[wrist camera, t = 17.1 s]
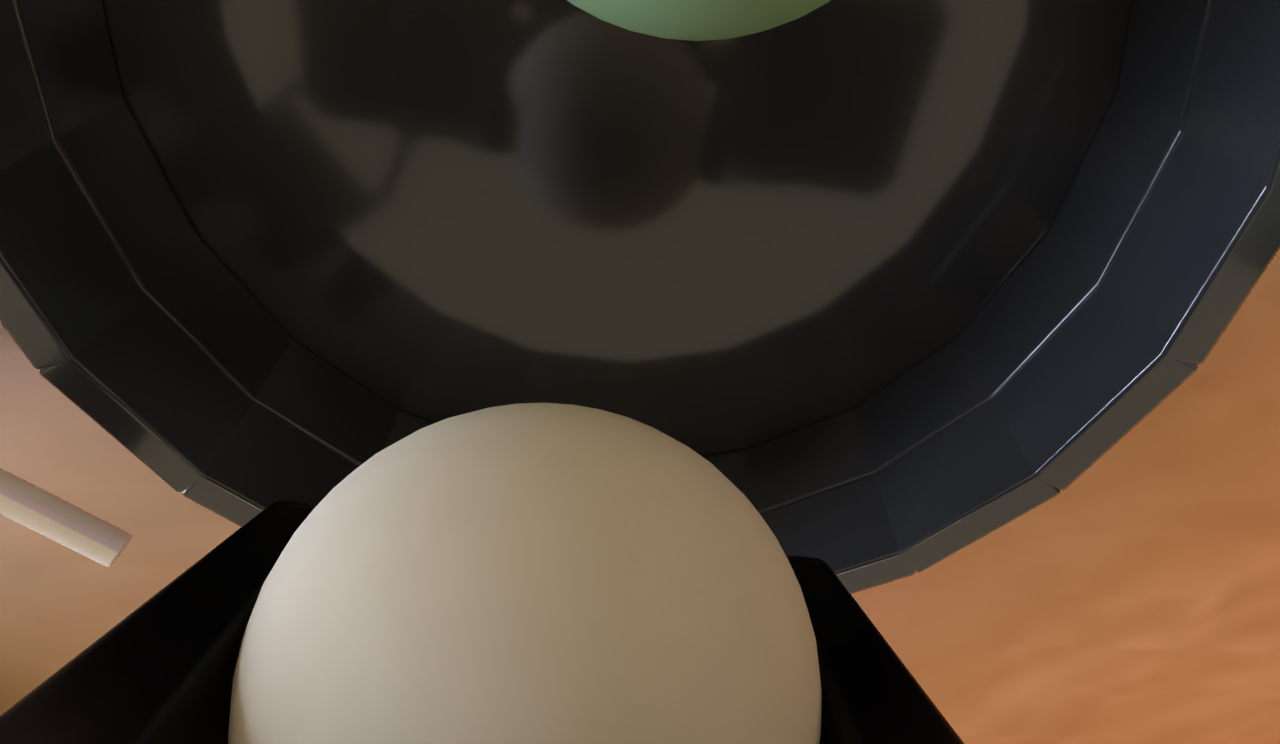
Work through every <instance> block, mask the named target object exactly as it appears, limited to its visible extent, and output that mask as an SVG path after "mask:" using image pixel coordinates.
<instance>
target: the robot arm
mask: <svg viewBox="0 0 1280 744" xmlns="http://www.w3.org/2000/svg"><path fill="white" fill-rule="evenodd" d="M315 507H316V505H313V504H308V503H298V502H289V501H278V502H275V503H273V504H271V505H269V506H268V507H267V508H265V509H264V510H263V511H262V512H260V513H259V514H258V515H256V516H255V517H254V518H253V519H251V520H250V521H249V522H248V523H246V524H245V525H244V526H242V527H241V528H240V529H239V530H237V531H236V532H235V533H233V534H232V535H231V536H230V537H228V538H227V539H226V540H225V541H223V542H222V543H221V544H219V545H218V546H217V547H216V548H214V549H213V550H212V551H211V552H209V553H208V554H207V555H205V556H204V557H203V558H202V559H200V560H199V561H198V562H196V563H195V564H194V565H193V566H191V567H190V568H189V569H188V570H186V571H185V572H184V573H182V574H181V575H180V576H179V577H177V578H176V579H175V580H173V581H172V582H171V583H170V584H168V585H167V586H166V587H165V588H163V589H162V590H161V591H159V592H158V593H157V594H156V595H154V596H153V597H152V598H150V599H149V600H148V601H147V602H145V603H144V604H143V605H142V606H140V607H139V608H138V609H136V610H135V611H134V612H133V613H131V614H130V615H129V616H127V617H126V618H125V619H124V620H122V621H121V622H120V623H119V624H117V625H116V626H115V627H113V628H112V629H111V630H110V631H108V632H107V633H106V634H104V635H103V636H102V637H101V638H99V639H98V640H97V641H96V642H94V643H93V644H92V645H90V646H89V647H88V648H87V649H85V650H84V651H83V652H82V653H80V654H79V655H78V656H76V657H75V658H74V659H73V660H71V661H70V662H69V663H67V664H66V665H65V666H64V667H62V668H61V669H60V670H59V671H57V672H56V673H55V674H53V675H52V676H51V677H50V678H48V679H47V680H46V681H44V682H43V683H42V684H41V685H39V686H38V687H37V688H36V689H34V690H33V691H32V692H30V693H29V694H28V695H27V696H25V697H24V698H23V699H21V700H20V701H19V702H18V703H16V704H15V705H14V706H13V707H11V708H10V709H9V710H7V711H6V712H5V713H4V714H2V715H1V716H0V744H228V732H229V718H230V705H231V693H232V684H233V676H234V672H235V667H236V663H237V659H238V654H239V650H240V646H241V641H242V638H243V635H244V633H245V630H246V627H247V624H248V621H249V619H250V616H251V614H252V611H253V609H254V606H255V603H256V601H257V598H258V596H259V593H260V591H261V588H262V586H263V583H264V582H265V580H266V578H267V577H268V575H269V573H270V572H271V570H272V568H273V566H274V565H275V563H276V561H277V560H278V558H279V556H280V555H281V553H282V551H283V550H284V548H285V547H286V545H287V543H288V542H289V540H290V539H291V537H292V536H293V534H294V532H295V531H296V530H297V529H298V527H299V526H300V525H301V524H302V523H303V521H304V520H305V519H306V518H307V517H308V515H309V514H310V513H311V512H312V511H313V509H314V508H315ZM787 558H788V560H789V563H790V565H791V567H792V569H793V571H794V574H795V576H796V578H797V580H798V582H799V585H800V587H801V590H802V593H803V596H804V600H805V603H806V606H807V609H808V613H809V616H810V620H811V624H812V627H813V631H814V635H815V638H816V644H817V653H818V662H819V671H820V681H821V691H822V713H821V735H820V743H819V744H964V743H963V741H962V740H961V739H960V738H959V736H958V735H957V734H956V732H955V731H954V730H953V728H952V727H951V726H950V724H949V723H948V722H947V720H946V719H945V718H944V717H943V715H942V714H941V713H940V711H939V710H938V709H937V707H936V706H935V705H934V703H933V702H932V701H931V699H930V698H929V697H928V695H927V694H926V693H925V692H924V690H923V689H922V688H921V686H920V685H919V684H918V682H917V681H916V680H915V678H914V677H913V676H912V674H911V673H910V672H909V671H908V669H907V668H906V667H905V665H904V664H903V663H902V661H901V660H900V659H899V657H898V656H897V655H896V653H895V652H894V651H893V649H892V648H891V647H890V646H889V644H888V643H887V642H886V640H885V639H884V638H883V636H882V635H881V634H880V632H879V631H878V630H877V628H876V627H875V626H874V625H873V623H872V622H871V621H870V619H869V618H868V617H867V615H866V614H865V613H864V611H863V610H862V609H861V607H860V606H859V605H858V603H857V602H856V601H855V600H854V598H853V597H852V596H851V594H850V593H849V592H848V590H847V589H846V588H845V586H844V585H843V584H842V582H841V581H840V580H839V579H838V577H837V576H836V575H835V573H834V572H833V571H832V569H831V568H830V567H829V565H828V564H827V563H826V562H824V561H823V560H821V559H819V558H812V557H802V556H793V555H790V556H787Z"/></svg>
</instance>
